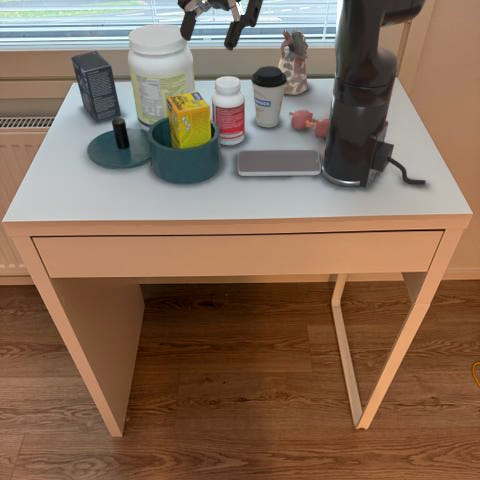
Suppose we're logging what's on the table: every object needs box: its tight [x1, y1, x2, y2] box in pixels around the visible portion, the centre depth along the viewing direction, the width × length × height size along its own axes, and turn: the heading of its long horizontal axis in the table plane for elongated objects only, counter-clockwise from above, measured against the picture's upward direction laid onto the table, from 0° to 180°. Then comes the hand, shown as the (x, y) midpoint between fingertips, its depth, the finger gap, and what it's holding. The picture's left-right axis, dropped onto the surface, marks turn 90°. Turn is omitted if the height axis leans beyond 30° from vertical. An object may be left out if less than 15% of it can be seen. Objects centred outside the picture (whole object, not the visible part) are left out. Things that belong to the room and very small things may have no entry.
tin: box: [147, 117, 222, 185], centre depth 89 cm, size 13×13×6 cm
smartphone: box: [237, 149, 322, 177], centre depth 90 cm, size 7×1×15 cm
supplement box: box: [166, 91, 211, 149], centre depth 87 cm, size 6×6×11 cm
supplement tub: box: [127, 23, 196, 131], centre depth 95 cm, size 12×12×17 cm
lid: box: [86, 117, 151, 169], centre depth 92 cm, size 14×14×6 cm
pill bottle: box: [211, 75, 246, 146], centre depth 93 cm, size 6×6×11 cm
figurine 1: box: [277, 28, 309, 96], centre depth 107 cm, size 7×7×12 cm
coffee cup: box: [250, 65, 287, 128], centre depth 97 cm, size 7×7×10 cm
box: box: [70, 50, 122, 123], centre depth 101 cm, size 8×6×11 cm
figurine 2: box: [288, 109, 329, 138], centre depth 98 cm, size 12×3×7 cm
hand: (206, 43), depth 82 cm, fingers open, 8 cm apart
